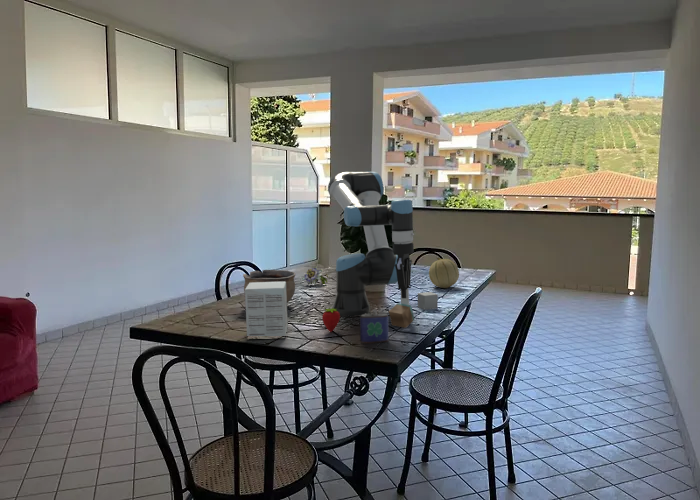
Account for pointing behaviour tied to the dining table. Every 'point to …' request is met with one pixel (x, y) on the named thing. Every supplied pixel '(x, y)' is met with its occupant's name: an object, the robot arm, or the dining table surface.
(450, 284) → the cantaloupe
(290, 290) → the ceramic bowl
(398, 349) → the dining table surface
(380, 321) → the flask
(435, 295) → the grey block
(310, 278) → the passion flower
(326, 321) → the strawberry
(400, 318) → the brown and green cube
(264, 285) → the supplement box
